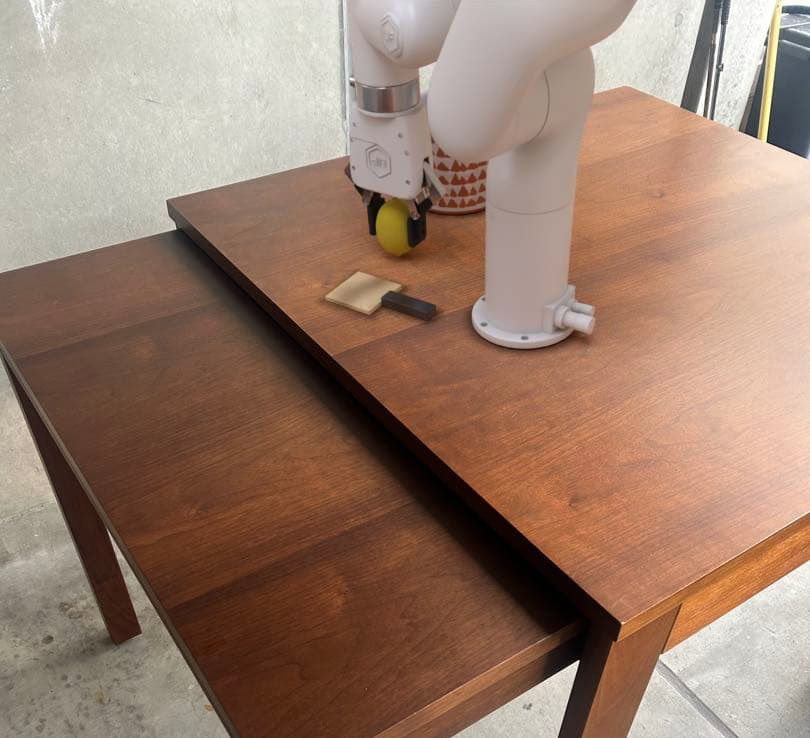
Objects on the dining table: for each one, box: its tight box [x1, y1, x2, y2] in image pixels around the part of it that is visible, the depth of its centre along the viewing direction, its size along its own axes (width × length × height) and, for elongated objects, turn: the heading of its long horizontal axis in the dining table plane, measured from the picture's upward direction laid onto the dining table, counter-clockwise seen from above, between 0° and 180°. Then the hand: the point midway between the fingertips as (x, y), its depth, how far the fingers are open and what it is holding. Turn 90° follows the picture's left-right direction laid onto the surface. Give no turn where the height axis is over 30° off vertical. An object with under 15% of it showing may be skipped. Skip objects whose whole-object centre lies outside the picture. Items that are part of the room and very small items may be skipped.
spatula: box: [324, 270, 437, 322], centre depth 108 cm, size 14×7×1 cm, turn 55°
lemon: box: [376, 197, 412, 257], centre depth 113 cm, size 6×6×8 cm
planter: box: [415, 89, 489, 215], centre depth 123 cm, size 14×14×13 cm
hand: (397, 235), depth 114 cm, fingers closed on lemon, 5 cm apart
